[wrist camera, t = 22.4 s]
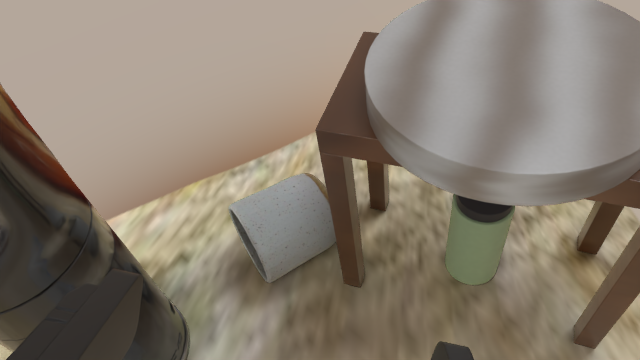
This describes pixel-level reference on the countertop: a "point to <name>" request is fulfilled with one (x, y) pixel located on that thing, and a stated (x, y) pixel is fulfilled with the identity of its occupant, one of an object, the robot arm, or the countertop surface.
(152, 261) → the countertop surface
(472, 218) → the spice bottle
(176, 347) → the robot arm
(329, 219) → the ceramic mug
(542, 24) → the pan stand
